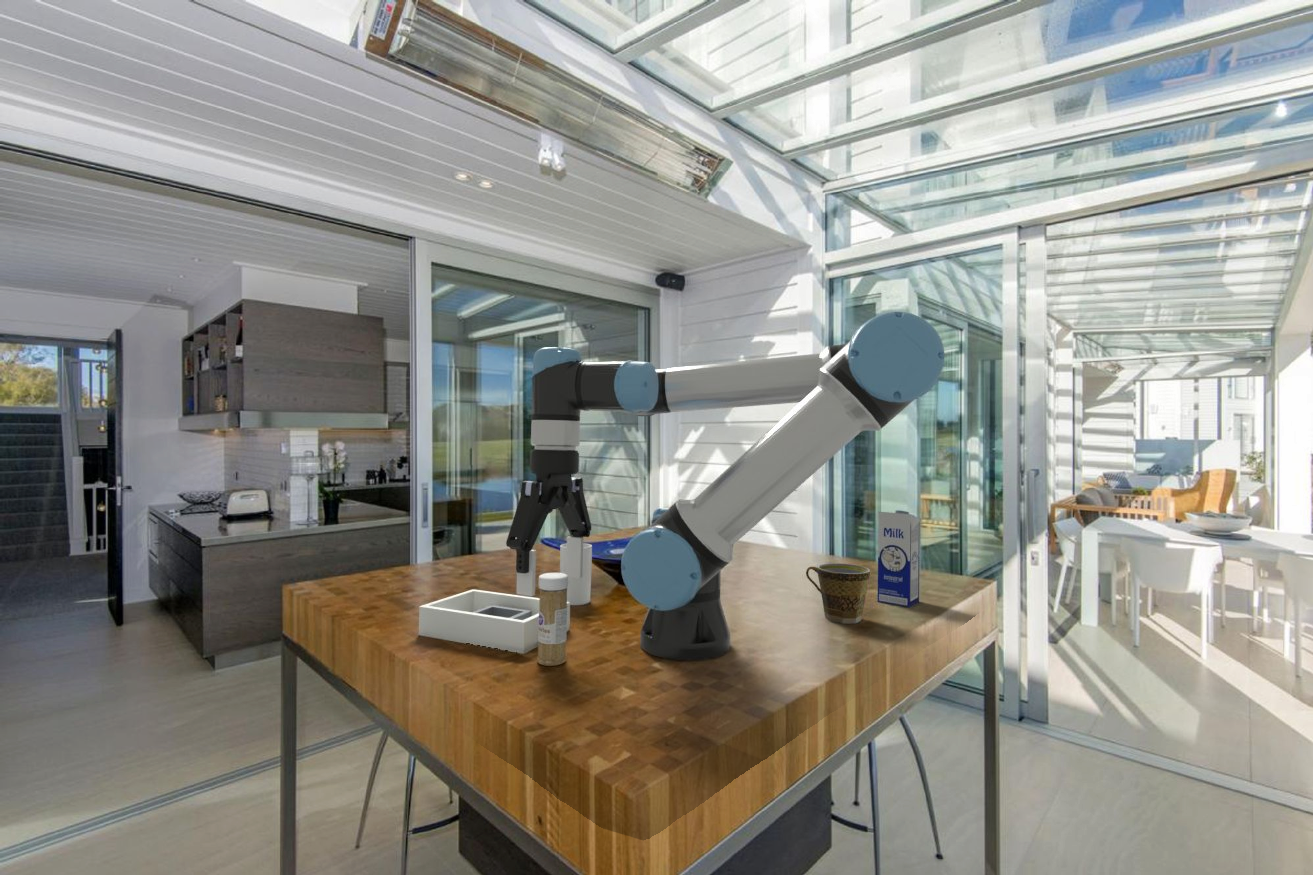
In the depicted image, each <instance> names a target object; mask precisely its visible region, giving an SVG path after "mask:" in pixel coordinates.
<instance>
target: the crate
mask: <svg viewBox="0 0 1313 875" xmlns="http://www.w3.org/2000/svg"><path fill="white" fill-rule="evenodd" d="M539 603H540V597H533V596H526V595H520V594H510V593H504V592H503V593H502V592H495V591H488V590H482V589H481V590H480V589H475V588H474V589H473V588H472V589H469V590H467V591H464V592H461V593H457V594H454V595H450V596H448V597H444V598H441V599H438V600H435V601H432V602H429V603H426V604H423V605H420V606H419V607H418V636H421V637H426V638H427V637H428V638H432V639H439V640H443V641H451V642H454V643H460V644H461V643H462V644H466V643H470V644H469V645H471V644H473V646H477V645H480V646H479V647H482V646H486V647H485V648H488V647H491V648H490V649H494V648H498V649H497V650H499V649H500V651H505V650H508V651H507V652H512V653H516V652H517V654H521V655H522V654H524V655H525V654H527V653H528V652H530V651H532V650H534V649H536V648H538V642H539V641H538V628H539ZM570 616H571V605H570V602H567V632H569V631H570V630H571V629H570V625H571V624H570V621H571V620H570V618H571V617H570Z"/></svg>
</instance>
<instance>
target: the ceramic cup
mask: <svg viewBox="0 0 1313 875" xmlns="http://www.w3.org/2000/svg"><path fill="white" fill-rule="evenodd" d="M810 570H812V571H814V572H815V573H817V577H818V582H819V585H818V584H817V583H816V582H815V581H814V580H813V579H812V578H811V576H810V575H809V572H810ZM870 574H871V570H870V569H869V568H867V567H865V566H862V565H858V564H852V563H850V564H849V563H837V562H835V563H822V564H819V565H817V567H816V566H809V567H808V568H806V571H805V575H806V578H807V580H809V581H810V583H811V584H813V585H814V587H815V588H816V590H817V591H818V592H819V593H820V594H821V598H822V599H821V600H822V605H823V612H824V617H825V618H826V619H827V620H828V621H829V622H832V623H838V624H846V625H848V624H854V625H855V624H858V623H859V622H861V620H862V617H863V611H864V607H865V601H866V596H867V591H868V588H869V581H870Z"/></svg>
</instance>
